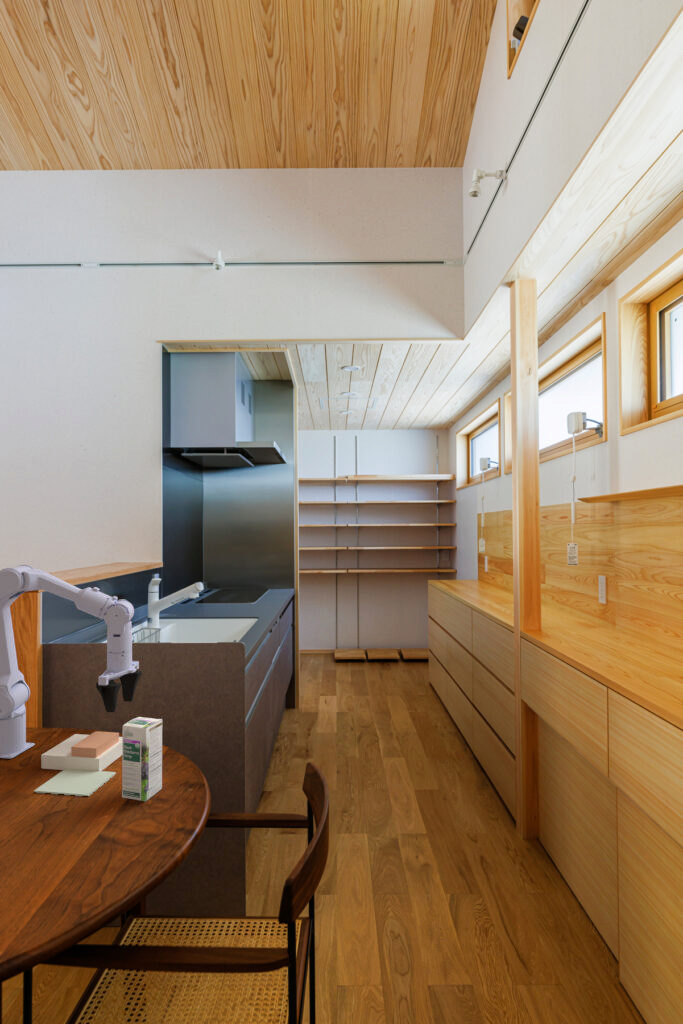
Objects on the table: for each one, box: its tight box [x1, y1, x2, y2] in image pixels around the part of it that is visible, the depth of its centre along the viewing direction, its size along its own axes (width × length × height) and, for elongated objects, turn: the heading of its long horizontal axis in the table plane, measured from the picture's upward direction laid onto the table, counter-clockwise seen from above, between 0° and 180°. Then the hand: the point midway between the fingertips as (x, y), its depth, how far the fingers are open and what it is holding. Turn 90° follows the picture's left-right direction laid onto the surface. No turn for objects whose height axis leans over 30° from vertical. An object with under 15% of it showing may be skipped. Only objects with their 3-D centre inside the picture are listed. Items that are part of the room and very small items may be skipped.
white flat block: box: [40, 733, 122, 771], centre depth 129 cm, size 14×12×3 cm
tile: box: [71, 731, 120, 758], centre depth 127 cm, size 6×9×2 cm, turn 171°
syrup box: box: [121, 716, 163, 803], centre depth 113 cm, size 6×6×14 cm
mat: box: [33, 769, 117, 797], centre depth 117 cm, size 12×10×1 cm
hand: (119, 706), depth 137 cm, fingers open, 7 cm apart
